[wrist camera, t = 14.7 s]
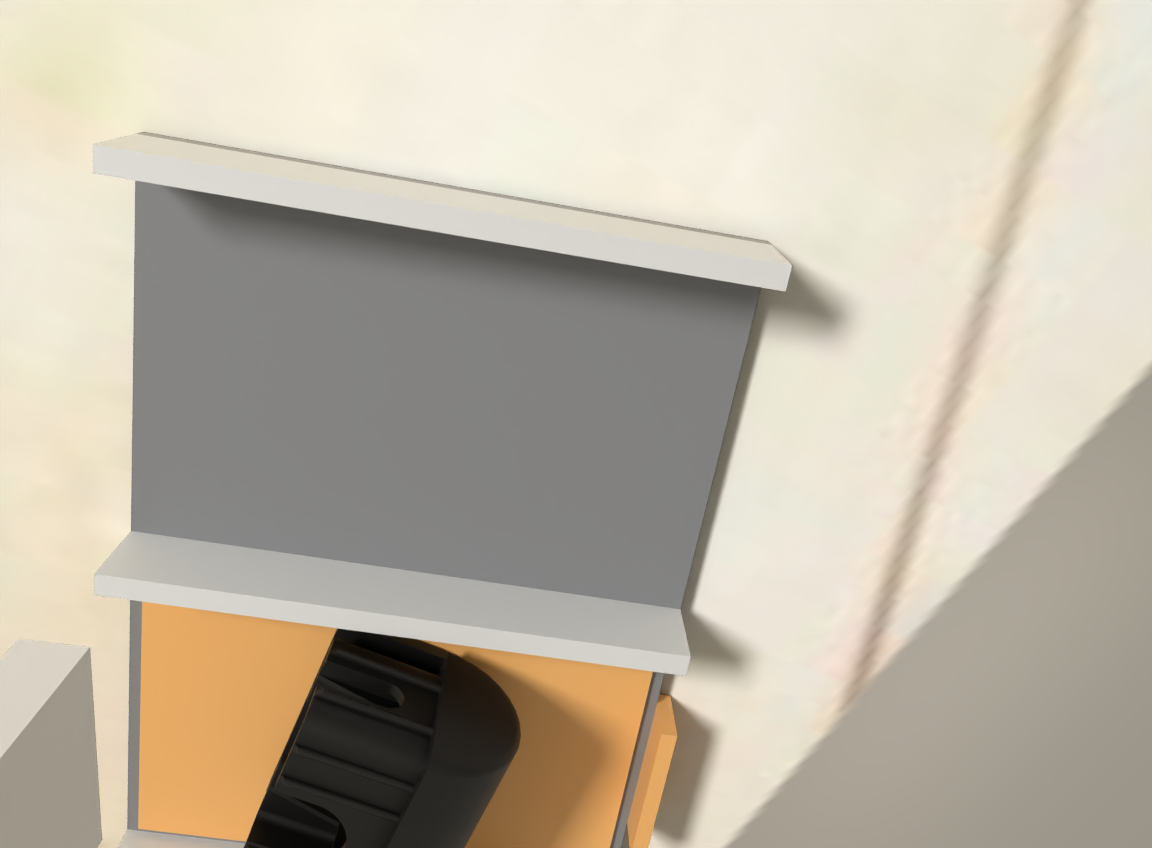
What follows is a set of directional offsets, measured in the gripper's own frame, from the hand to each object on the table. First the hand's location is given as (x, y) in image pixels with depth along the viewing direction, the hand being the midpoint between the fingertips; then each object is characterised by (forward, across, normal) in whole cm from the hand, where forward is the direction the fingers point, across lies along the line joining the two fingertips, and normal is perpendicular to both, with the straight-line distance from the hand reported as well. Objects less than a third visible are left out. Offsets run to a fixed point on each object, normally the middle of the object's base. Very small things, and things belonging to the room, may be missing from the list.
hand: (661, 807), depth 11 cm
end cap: (+22, +6, +18) cm, 29 cm away
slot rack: (+23, +6, +11) cm, 26 cm away
